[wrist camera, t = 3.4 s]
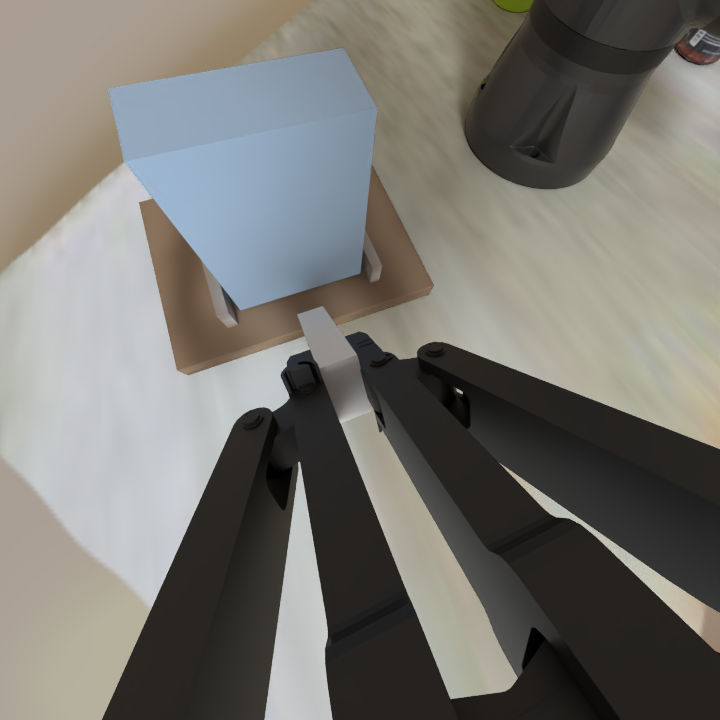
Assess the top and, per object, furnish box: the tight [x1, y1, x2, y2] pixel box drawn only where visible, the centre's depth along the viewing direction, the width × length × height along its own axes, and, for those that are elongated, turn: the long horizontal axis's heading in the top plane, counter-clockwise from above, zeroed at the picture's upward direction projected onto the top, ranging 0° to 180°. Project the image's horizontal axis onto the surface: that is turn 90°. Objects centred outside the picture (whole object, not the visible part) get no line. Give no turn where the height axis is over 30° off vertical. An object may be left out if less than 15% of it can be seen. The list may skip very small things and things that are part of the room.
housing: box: [139, 165, 434, 375], centre depth 23 cm, size 21×16×4 cm
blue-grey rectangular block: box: [108, 48, 377, 310], centre depth 17 cm, size 10×4×12 cm, turn 111°
